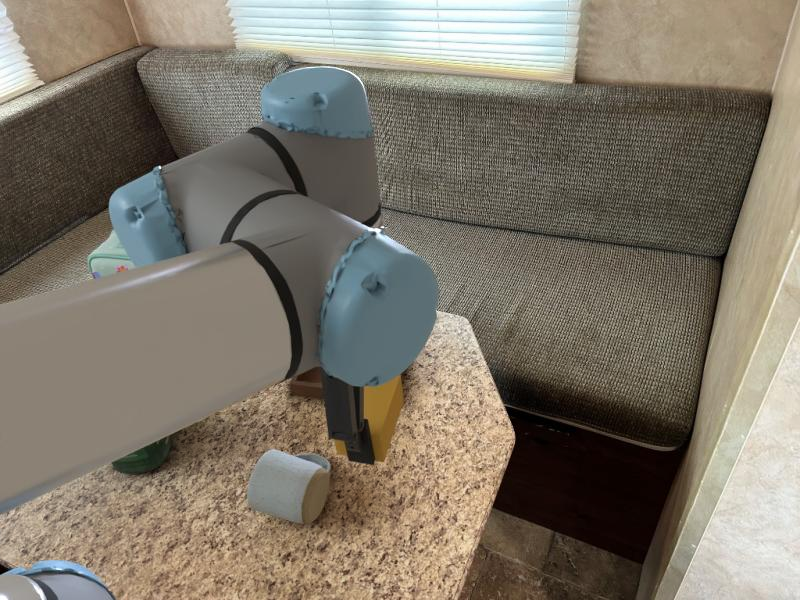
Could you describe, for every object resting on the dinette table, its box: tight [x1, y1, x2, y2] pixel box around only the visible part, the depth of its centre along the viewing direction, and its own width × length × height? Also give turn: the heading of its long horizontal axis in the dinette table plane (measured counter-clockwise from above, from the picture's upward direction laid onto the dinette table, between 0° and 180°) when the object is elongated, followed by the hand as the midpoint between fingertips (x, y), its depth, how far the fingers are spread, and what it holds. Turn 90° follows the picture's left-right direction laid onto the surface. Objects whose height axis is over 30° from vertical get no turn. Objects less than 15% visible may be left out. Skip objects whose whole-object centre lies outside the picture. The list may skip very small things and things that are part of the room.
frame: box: [288, 367, 404, 400], centre depth 94 cm, size 13×16×3 cm
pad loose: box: [333, 375, 405, 463], centre depth 65 cm, size 8×5×4 cm, turn 165°
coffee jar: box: [111, 433, 175, 475], centre depth 80 cm, size 10×8×19 cm
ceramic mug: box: [246, 448, 331, 525], centre depth 76 cm, size 11×8×8 cm
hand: (374, 425), depth 66 cm, fingers closed on pad loose, 8 cm apart
